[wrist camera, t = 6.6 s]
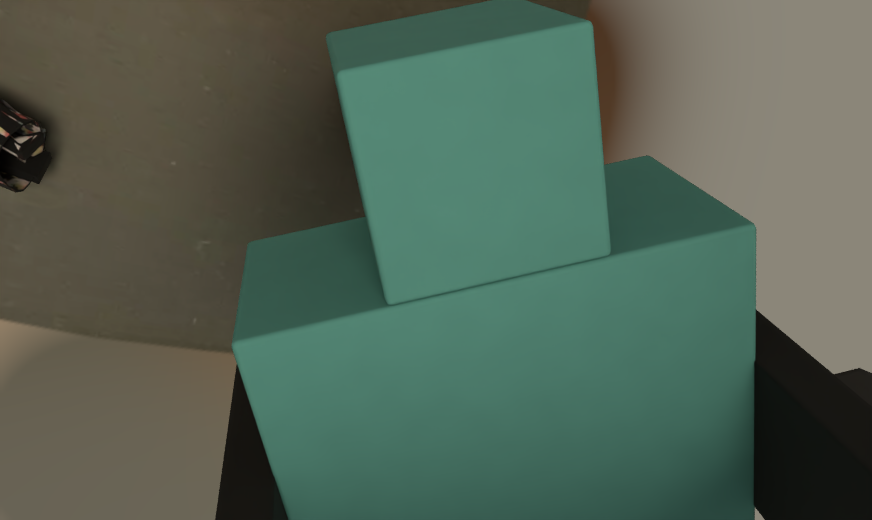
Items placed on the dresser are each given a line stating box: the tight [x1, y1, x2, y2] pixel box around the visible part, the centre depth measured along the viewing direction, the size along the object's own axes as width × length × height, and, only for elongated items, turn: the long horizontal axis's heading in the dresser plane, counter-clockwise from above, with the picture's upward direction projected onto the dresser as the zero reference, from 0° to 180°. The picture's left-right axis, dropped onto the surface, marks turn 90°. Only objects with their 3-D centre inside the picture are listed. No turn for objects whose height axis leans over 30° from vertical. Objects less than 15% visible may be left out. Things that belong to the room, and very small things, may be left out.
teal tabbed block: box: [232, 0, 756, 520], centre depth 12 cm, size 7×10×4 cm
